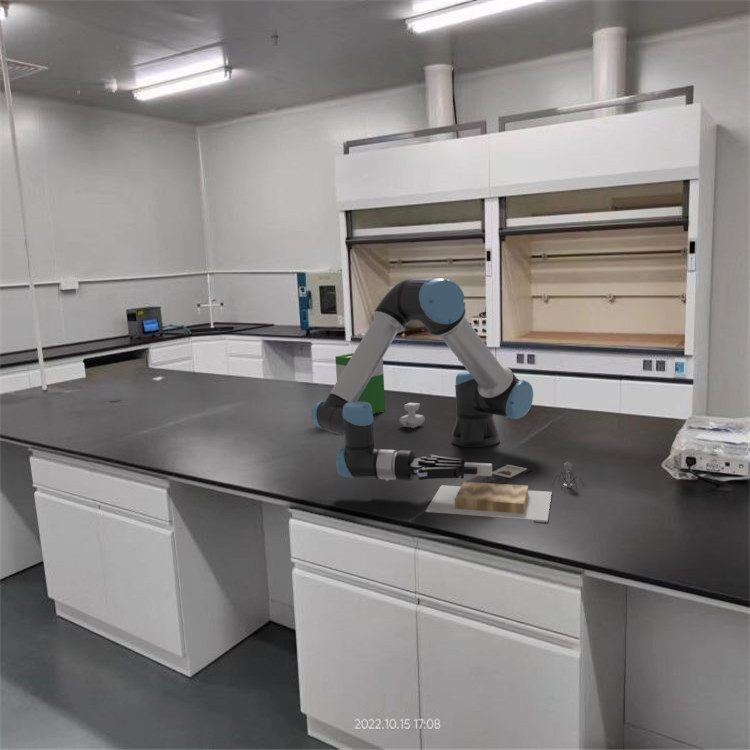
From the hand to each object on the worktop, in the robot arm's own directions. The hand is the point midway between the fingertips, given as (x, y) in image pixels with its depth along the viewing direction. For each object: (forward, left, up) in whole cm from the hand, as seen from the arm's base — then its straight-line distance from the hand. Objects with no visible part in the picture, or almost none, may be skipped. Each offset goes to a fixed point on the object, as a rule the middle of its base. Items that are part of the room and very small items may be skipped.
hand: (491, 469), depth 155 cm
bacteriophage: (-15, +17, -9) cm, 25 cm away
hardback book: (-82, -61, -9) cm, 103 cm away
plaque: (0, -8, -7) cm, 10 cm away
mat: (0, 0, -9) cm, 9 cm away
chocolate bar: (-19, -1, -9) cm, 21 cm away
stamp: (-67, -37, -9) cm, 77 cm away
